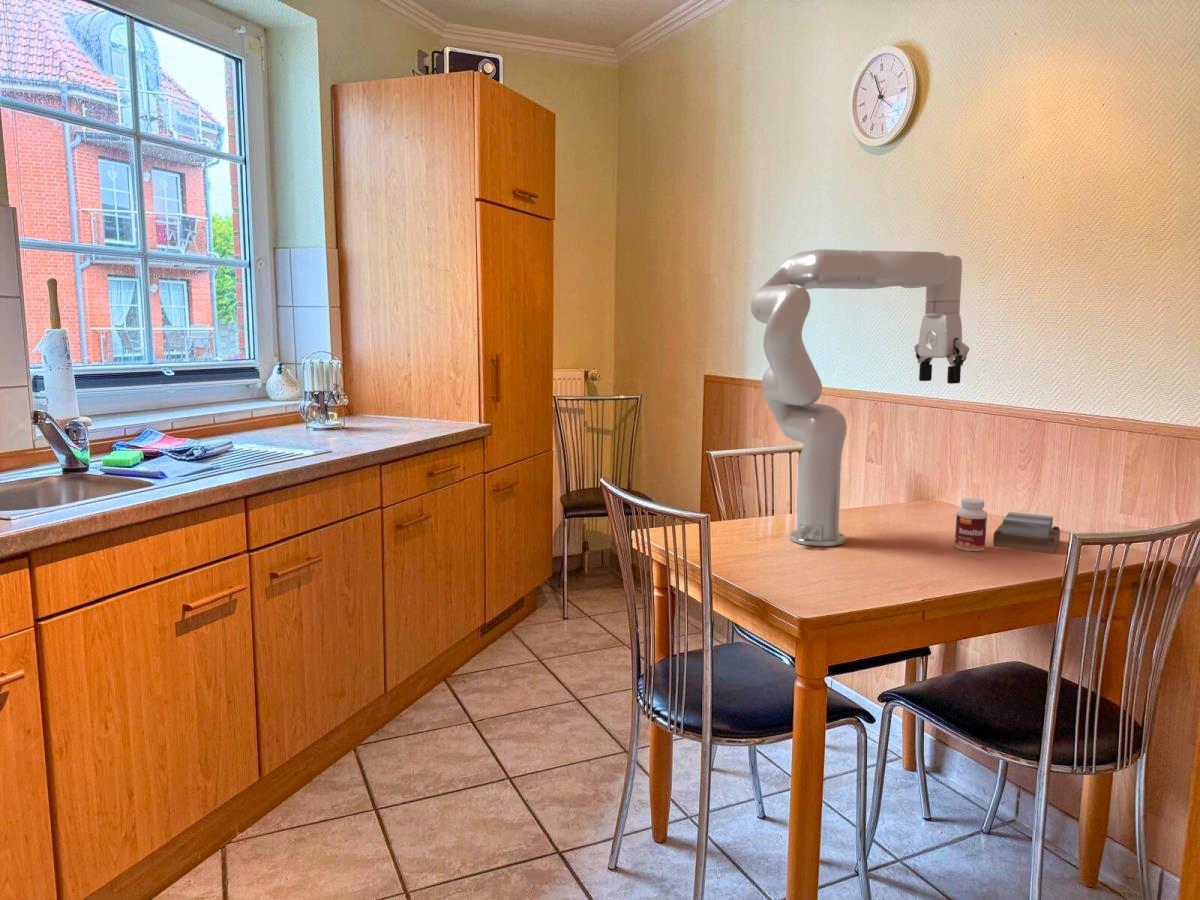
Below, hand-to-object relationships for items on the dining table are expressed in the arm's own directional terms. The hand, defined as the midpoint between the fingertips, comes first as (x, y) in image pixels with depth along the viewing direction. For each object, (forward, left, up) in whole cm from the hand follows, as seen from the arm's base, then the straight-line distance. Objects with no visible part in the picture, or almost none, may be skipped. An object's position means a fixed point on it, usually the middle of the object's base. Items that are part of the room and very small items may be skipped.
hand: (939, 382), depth 195 cm
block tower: (-4, -21, -36) cm, 42 cm away
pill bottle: (-15, -11, -36) cm, 41 cm away
